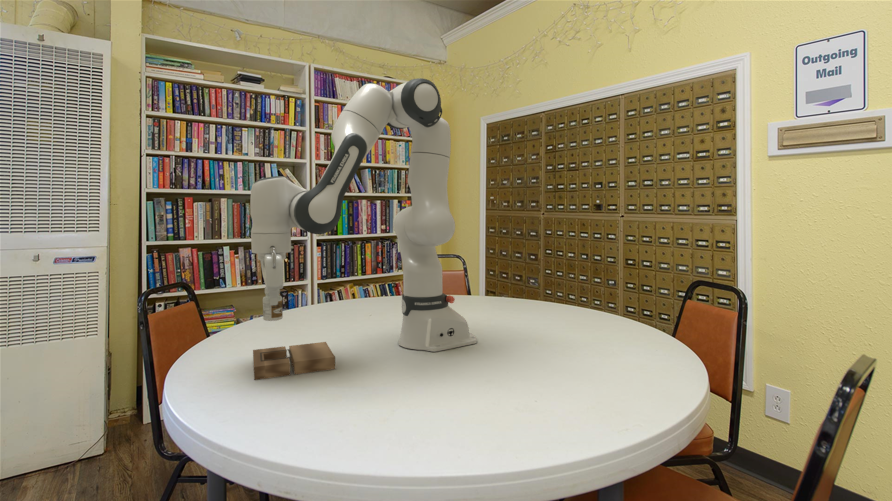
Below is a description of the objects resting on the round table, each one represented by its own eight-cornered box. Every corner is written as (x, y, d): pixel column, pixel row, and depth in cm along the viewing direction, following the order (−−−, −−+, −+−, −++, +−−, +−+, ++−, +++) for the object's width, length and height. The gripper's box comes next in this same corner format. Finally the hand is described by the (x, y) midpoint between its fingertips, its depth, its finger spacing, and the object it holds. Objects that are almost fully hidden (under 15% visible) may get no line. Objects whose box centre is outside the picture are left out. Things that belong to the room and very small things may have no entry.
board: (326, 352, 126) (325, 341, 126) (335, 368, 113) (334, 356, 113) (253, 361, 119) (252, 349, 119) (254, 379, 106) (253, 366, 106)
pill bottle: (276, 321, 111) (275, 289, 110) (259, 320, 111) (258, 288, 111) (286, 317, 115) (285, 286, 114) (269, 316, 116) (269, 285, 115)
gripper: (289, 247, 103) (290, 309, 105) (282, 242, 122) (283, 294, 123) (258, 248, 101) (260, 312, 102) (256, 242, 120) (257, 296, 121)
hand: (273, 302), depth 113 cm, fingers closed on pill bottle, 4 cm apart
